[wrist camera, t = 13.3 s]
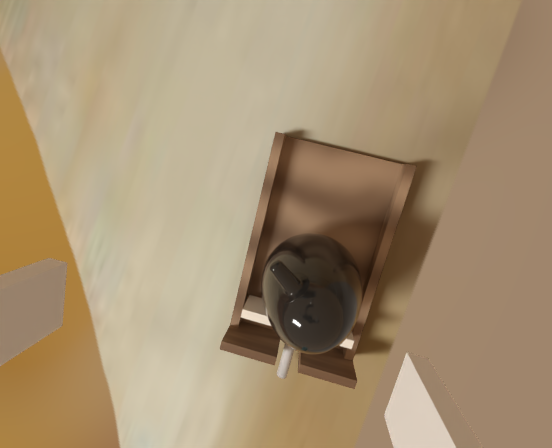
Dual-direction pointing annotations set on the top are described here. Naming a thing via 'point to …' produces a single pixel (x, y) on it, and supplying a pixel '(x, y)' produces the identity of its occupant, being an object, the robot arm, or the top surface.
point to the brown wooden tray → (321, 220)
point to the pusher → (257, 313)
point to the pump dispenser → (311, 292)
